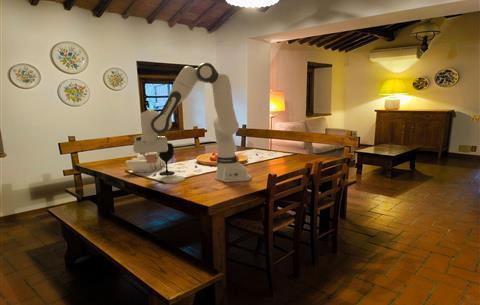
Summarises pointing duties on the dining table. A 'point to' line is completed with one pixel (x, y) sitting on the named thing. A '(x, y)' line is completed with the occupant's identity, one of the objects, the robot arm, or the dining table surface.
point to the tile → (173, 179)
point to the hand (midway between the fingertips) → (151, 159)
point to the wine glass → (167, 158)
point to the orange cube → (151, 158)
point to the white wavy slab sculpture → (144, 164)
